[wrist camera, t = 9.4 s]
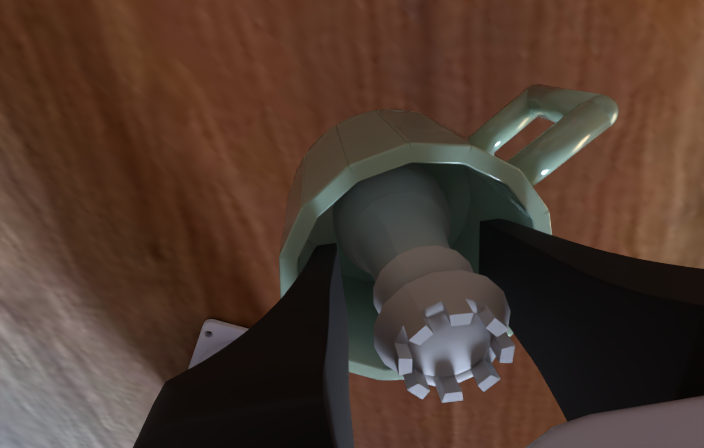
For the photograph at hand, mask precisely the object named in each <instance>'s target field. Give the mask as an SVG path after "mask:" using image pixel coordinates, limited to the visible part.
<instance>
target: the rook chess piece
mask: <svg viewBox="0 0 704 448" xmlns="http://www.w3.org/2000/svg"><path fill="white" fill-rule="evenodd" d="M332 210H333V223H334V231H335V232H336V234H337V240H338V242H339V244H340V246H341V247H342V249H343V251H344V253H345V255H346V256H347V258H348V259H349V260H350V261H351V262H352V263H354V264H355V265H357V266H358V267H359V268H361V269H362V270H363V271H365V272H367V273H369V274H371V275H372V276H373V278H374V280H375V282H376V283H375V285H374V287H373V297H374V306H375V308H376V310H377V311H378V313H379V315H378V317H377V319H376V322H375V324H374V348H375V349H376V351H377V353H378V354H379V356H380V358H381V359H382V361H383V363H384V364H385V365H386V366H388V367H390V368H391V369H393V370H394V371H396V372H398V375H399V376H400V375H402V376H403V377H404V381H405V385H406V388H407V390H408V391H409V392H411V393H413V394H414V395H416V396H418V397H419V398H421V399H423V398H424V397H425V396H426V395H427V393H428V392H429V391H430V390H429V387H428V385H433V386H436V388H437V391H438V394H439V396H440V399H441V402H442V403H444V402H452V401H461V400H463V396H462V391H461V389H460V386H459V384H458V383H459V382H461V381H464V380H466V379H469V378H471V377H474V378H475V380H476V382H477V385H478V386H479V387H480V388H481V389H482V391H483V392H484V391H486V390H487V389H488V388H490V387H491V386H492V385H494V384H495V383H496V382H497V381H499V380H500V377H499V375H498V373H497V372H496V370H495V368H494V366H493V365H492V362H493V360H494V359H495V357H497V359H498V361H499V362H502V363H512V360H513V354H514V349H515V345H514V343H513V342H512V340H511V339H510V337H509V336H508V334H507V331H508V330H509V328H508V323H509V317H510V308H509V305H508V303H507V300H506V297H505V294H504V291H503V290H501V289H500V288H499V287H498V286H497V285H496V284H495V283H493V282H492V281H491V280H490V279H489V278H488V277H486V276H483V275H479V274H475V273H473V270H472V268H471V265H470V262H469V261H467V260H466V259H465V258H464V257H463V256H462V255H461V254H459V253H458V252H457V251H456V250H452V249H450V247H449V244H448V236H449V233H450V220H451V212H450V208H449V205H448V202H447V200H446V197H445V195H444V192H443V190H442V189H441V188H440V187H439V185H438V182H437V181H436V180H435V179H434V178H433V177H432V176H431V175H430V174H429V173H428V172H427V171H426V170H425V169H424V168H422V167H421V166H418V165H415V164H412V163H408V164H405V165H403V166H400V167H397V168H394V169H392V170H389V171H386V172H384V173H381V174H378V175H375V176H373V177H370V178H367V179H364V180H362V181H359V182H357V183H356V184H355V185H354V186H353V187H352V188H350V189H349V190H348V191H347V192H346V193H345V194H344V195H343V196H341V197H340V198H339V199H338V200H337V201H336V202H335V204H334V207H333V209H332Z"/></svg>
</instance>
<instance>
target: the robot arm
mask: <svg viewBox="0 0 704 448" xmlns="http://www.w3.org/2000/svg"><path fill="white" fill-rule="evenodd" d="M479 275H483V276H486V277H488V278H489V279H490V280H491V281H492V282H493V283H495V284H496V285H497V286H498V287H499V288H500V289H501V290H503V291H504V294H505V297H506V300H507V303H508V305H509V308H510V317H509V323H508V326H509V327H510V329H511V330H512V332H513V333H514V334H515V336H516V337H517V339H518V340H519V341H520V343H521V344H522V346H523V347H524V348H525V350H526V351H527V353H528V354H529V355H530V357H531V358H532V360H533V361H534V363H535V364H536V366H537V367H538V369H539V371H540V372H541V374H542V376H543V378H544V379H545V381H546V383H547V385H548V387H549V388H550V390H551V392H552V394H553V395H554V397H555V399H556V401H557V403H558V404H559V406H560V408H561V410H562V412H563V414H564V416H565V418H566V420H567V421H568V422H565V423H563V424H560V425H557V426H554V427H552V428H550V429H549V430H548V431H547V432H545V433H544V434H543V435H541V436H540V437H539V438H538V439H536V440H535V441H534V442H532V443H531V444H530V445H528V446H527V447H526V448H704V269H700V268H691V267H684V266H678V265H671V264H665V263H659V262H653V261H647V260H642V259H637V258H632V257H628V256H624V255H619V254H615V253H610V252H606V251H602V250H598V249H595V248H591V247H588V246H585V245H581V244H578V243H574V242H571V241H568V240H565V239H562V238H559V237H556V236H553V235H550V234H547V233H544V232H541V231H538V230H536V229H533V228H530V227H527V226H524V225H521V224H518V223H515V222H512V221H508V220H505V219H500V218H497V219H491V220H484V221H480V230H479ZM206 331H210V332H211V333H207V332H206ZM133 448H354V439H353V429H352V420H351V410H350V400H349V330H348V316H347V308H346V300H345V293H344V287H343V281H342V275H341V269H340V263H339V256H338V250H337V244H336V243H332V244H325V245H318V246H316V248H315V249H314V250H313V252H312V254H311V256H310V258H309V260H308V261H307V263H306V265H305V266H304V268H303V269H302V271H301V272H300V274H299V275H298V277H297V278H296V280H295V281H294V283H293V284H292V285H291V287H290V288H289V289H288V290H287V292H286V293H285V294H284V296H283V297H282V298H281V299H280V300H279V301H278V303H277V304H276V305H275V306H274V307H273V308H272V309H271V310H270V311H269V312H268V313H267V314H266V315H265V316H263V317H262V318H261V319H260V320H259V321H258V322H256V323H255V324H254V325H253V326H252V327H250V328H249V329H248V328H244V327H241V326H237V325H233V324H229V323H226V322H222V321H218V320H215V319H208V320H206V321H205V322H204V324H203V326H202V329H201V332H200V335H199V338H198V341H197V344H196V347H195V350H194V353H193V356H192V359H191V362H190V365H189V368H188V370H186V371H185V372H183V373H181V374H179V375H177V376H176V377H174V378H172V379H170V380H168V381H166V382H165V384H164V386H163V387H162V389H161V391H160V393H159V395H158V396H157V398H156V400H155V402H154V404H153V406H152V408H151V410H150V412H149V414H148V417H147V419H146V421H145V423H144V425H143V427H142V429H141V432H140V434H139V436H138V438H137V440H136V442H135V444H134V447H133Z"/></svg>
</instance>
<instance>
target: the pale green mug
mask: <svg viewBox="0 0 704 448" xmlns="http://www.w3.org/2000/svg"><path fill="white" fill-rule="evenodd" d="M618 113H619V108H618V105H617V103H616V101H615V100H614V99H613V98H611V97H609V96H607V95H602V94H596V93H590V92H584V91H578V90H572V89H566V88H560V87H554V86H548V85H542V84H535V85H531V86H529V87H528V88H526V89H525V90H524V91H523V92H522V93H520V94H519V95H518V96H517V97H516V98H514V99H513V100H512V101H511V102H510V103H509V104H507V105H506V106H505V107H504V108H503V109H501V110H500V111H499V112H498V113H497V114H495V115H494V116H493V117H492V118H491V119H490V120H488V121H487V122H486V123H485V124H484V125H482V126H481V127H480V128H479V129H478V130H477V131H475V132H474V133H473V134H472V135H471V136H469V137H468V138H466V137H465V136H463V135H461V134H460V133H458V132H456V131H454V130H453V129H451V128H449V127H447V126H445V125H443V124H441V123H439V122H437V121H435V120H434V119H432V118H429V117H427V116H425V115H423V114H421V113H418V112H411V111H407V110H398V109H381V110H375V111H369V112H365V113H362V114H358V115H355V116H353V117H350V118H348V119H346V120H344V121H342V122H340V123H339V124H337V125H335V126H334V127H332V128H331V129H329V130H328V131H327V132H326V133H324V134H323V135H322V136H321V137H320V138H319V139H318V140H317V141H316V142H315V143H314V144H313V145H312V146H311V147H310V149H309V150H308V152H307V153H306V154H305V156H304V157H303V159H302V161H301V163H300V165H299V167H298V169H297V171H296V174H295V177H294V179H293V183H292V185H291V187H290V190H289V195H288V202H287V208H286V215H285V222H284V228H283V235H282V241H281V248H280V255H279V275H280V299H281V298H282V297H283V296H284V294H285V293H286V292H287V290H288V289H289V288H290V287H291V285H292V284H293V283H294V281H295V280H296V278H297V277H298V275H299V274H300V272H301V271H302V269H303V268H304V266H305V265H306V263H307V261H308V260H309V258H310V256H311V254H312V252H313V250H314V249H315V248H316V246H318V245H325V244H332V243H336V244H337V250H338V256H339V263H340V269H341V275H342V281H343V287H344V293H345V300H346V308H347V316H348V330H349V372H351V373H355V374H359V375H362V376H366V377H370V378H373V379H377V380H380V379H381V380H404V377H403V376H402V375H400V376H399V375H398V372H396V371H394V370H393V369H391V368H390V367H388V366H386V365H385V364H384V363H383V361H382V359H381V358H380V356H379V354H378V353H377V351H376V349H375V348H374V324H375V322H376V319H377V317H378V315H379V313H378V311H377V310H376V308H375V306H374V297H373V287H374V285H375V283H376V282H375V280H374V278H373V276H372V275H371V274H369V273H367V272H365V271H363V270H362V269H361V268H359V267H358V266H357V265H355V264H354V263H352V262H351V261H350V260H349V259H348V258H347V256H346V255H345V253H344V251H343V249H342V247H341V246H340V244H339V242H338V240H337V234H336V232H335V231H334V223H333V210H332V209H333V207H334V204H335V202H336V201H337V200H338V199H339V198H340V197H341V196H343V195H344V194H345V193H346V192H347V191H348V190H349V189H350V188H352V187H353V186H354V185H355V184H356V183H357V182H359V181H362V180H364V179H367V178H370V177H373V176H375V175H378V174H381V173H384V172H386V171H389V170H392V169H394V168H397V167H400V166H403V165H405V164H408V163H412V164H415V165H418V166H421V167H422V168H424V169H425V170H426V171H427V172H428V173H429V174H430V175H431V176H432V177H433V178H434V179H435V180H436V181H437V182H438V185H439V187H440V188H441V189H442V190H443V192H444V195H445V197H446V200H447V202H448V205H449V208H450V212H451V220H450V233H449V236H448V244H449V247H450V249H452V250H456V251H457V252H458V253H459V254H461V255H462V256H463V257H464V258H465V259H466V260H467V261H469V262H470V265H471V268H472V270H473V273H475V274H479V230H480V221H484V220H491V219H497V218H500V219H505V220H508V221H512V222H515V223H518V224H521V225H524V226H527V227H530V228H533V229H536V230H538V231H541V232H544V233H547V234H550V235H552V230H551V222H550V213H549V211H548V208H547V206H546V205H545V203H544V202H543V200H542V199H541V198H540V196H539V195H538V193H537V192H536V190H535V189H534V188H533V186H534V185H536V184H537V183H538V182H540V181H541V180H542V179H543V178H545V177H546V176H547V175H549V174H550V173H551V172H553V171H554V170H555V169H556V168H558V167H559V166H560V165H562V164H563V163H564V162H565V161H567V160H568V159H569V158H571V157H572V156H573V155H575V154H576V153H577V152H578V151H580V150H581V149H582V148H584V147H585V146H586V145H588V144H589V143H590V142H591V141H593V140H594V139H595V138H597V137H598V136H599V135H600V134H602V133H603V132H604V131H606V130H607V129H608V128H610V127H611V126H612V125H613V124H614V122H615V121H616V119H617V117H618ZM537 117H540V118H543V119H546V120H549V121H553V122H556V123H555V124H553V125H552V126H551V127H550V128H548V129H547V130H546V131H545V132H543V133H542V134H541V135H540V136H538V137H537V138H536V139H535V140H534V141H532V142H531V143H530V144H529V145H527V146H526V147H525V148H524V149H522V150H521V151H520V152H519V153H517V154H516V155H515V156H514V157H512V158H511V159H510V160H509V161H506V160H504V159H502V158H500V157H499V156H497V155H495V154H494V152H495V151H496V150H498V149H499V148H500V147H501V146H503V145H504V144H505V143H506V142H507V141H509V140H510V139H511V138H512V137H514V136H515V135H516V134H517V133H518V132H520V131H521V130H522V129H523V128H525V127H526V126H527V125H528V124H529V123H531V122H532V121H533V120H534V119H536V118H537ZM508 328H509V330H508V331H507V334H508V336H512V335H513V332H512V330H511V329H510V327H509V326H508Z"/></svg>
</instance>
